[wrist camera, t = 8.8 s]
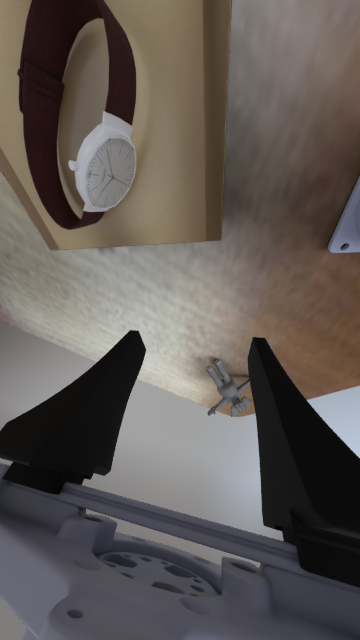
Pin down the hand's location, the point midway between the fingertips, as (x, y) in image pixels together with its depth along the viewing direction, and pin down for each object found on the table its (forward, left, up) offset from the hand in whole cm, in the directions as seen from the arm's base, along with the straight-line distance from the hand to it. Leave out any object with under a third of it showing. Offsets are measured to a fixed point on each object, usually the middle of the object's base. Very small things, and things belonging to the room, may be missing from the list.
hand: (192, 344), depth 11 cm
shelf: (+5, -10, -9) cm, 14 cm away
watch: (+5, -10, -5) cm, 12 cm away
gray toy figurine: (-3, +19, -10) cm, 22 cm away
